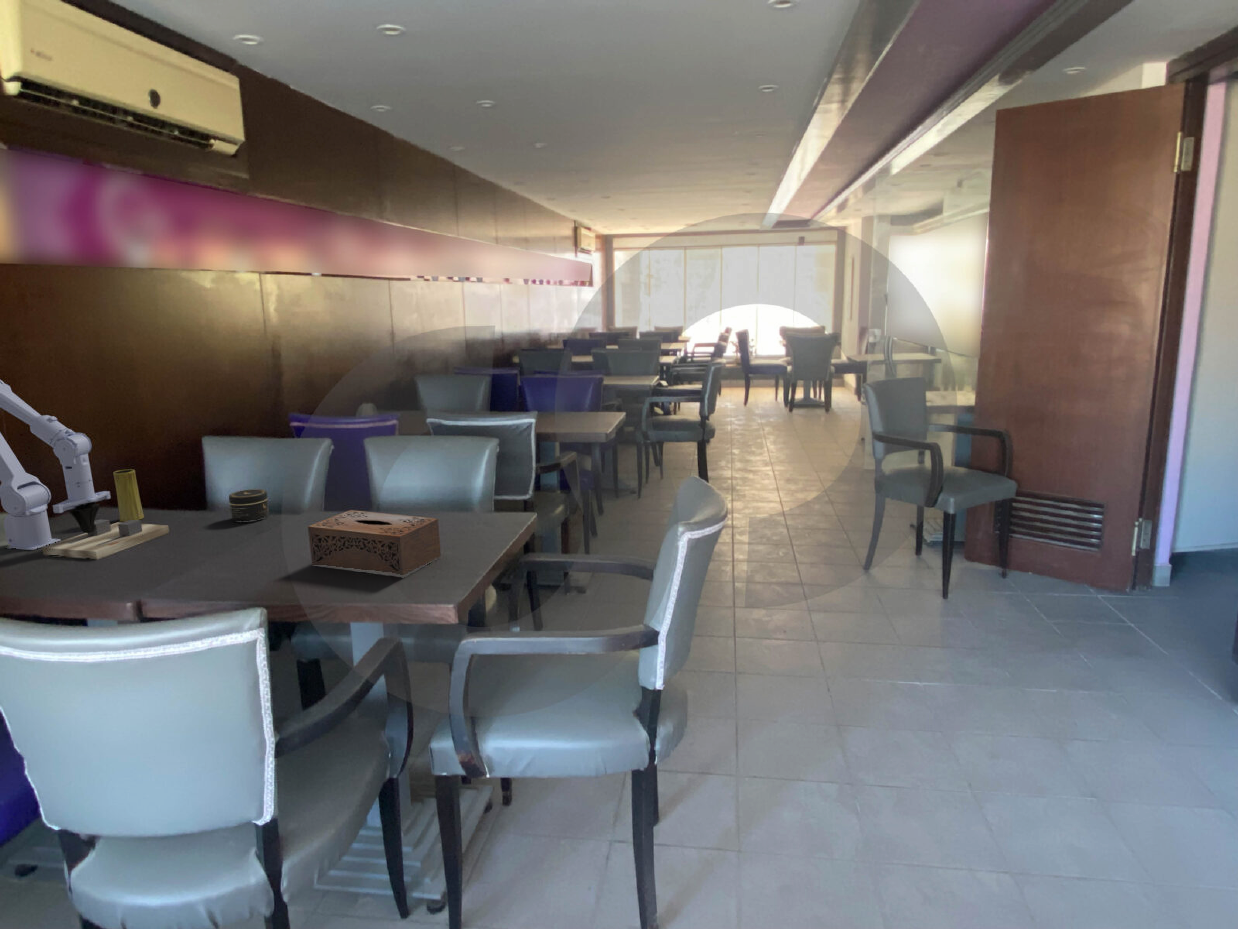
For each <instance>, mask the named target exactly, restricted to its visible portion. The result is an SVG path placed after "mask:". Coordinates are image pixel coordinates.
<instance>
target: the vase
mask: <svg viewBox="0 0 1238 929" xmlns="http://www.w3.org/2000/svg"><path fill="white" fill-rule="evenodd" d="M113 478H114V484H115V491H116V497H117V498H116V499H117V506H118V512H119V522H121V523H123V522H126V521H129V520H142V519H144V518H145V515H144V512H143V507H142V502H141V498H140V493H139V492H140V491H139V487H138V482H137V481H138V480H137V476H136V470H135V469H132V468H130V469H129V468H128V469H121V470H120V469H119V470H116V471H113Z"/></svg>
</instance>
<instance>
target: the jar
mask: <svg viewBox="0 0 1238 929" xmlns="http://www.w3.org/2000/svg"><path fill="white" fill-rule="evenodd" d="M228 503H229V508H230V515H231V518H232V520H233V521H234V520H235V521H242V522H243V521H250V520H258V519H261V518H264V517H267V518H268V516H269V513H270V510H269V498H268V492H267V491H266V490H265V489H262V488H260V489H259V488H258V489H257V488H255V489H254V488H250V489H244V490H239V491H235V492H232V493H230V494H229V495H228ZM235 521H234V522H235Z"/></svg>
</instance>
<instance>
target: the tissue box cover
mask: <svg viewBox="0 0 1238 929" xmlns="http://www.w3.org/2000/svg"><path fill="white" fill-rule="evenodd" d="M439 525H440V524H439V518H436V517H435V518H433V517H425V516H424V517H423V516H415V515H405V514H394V513H384V512H383V513H382V512H374V511H373V512H372V511H363V510H354V509H349V510H346V511H344V512H341V513H339V514H337V515H334V516H331V517H328V518H326V519H324V520H320V521H318V522H316V523H313V524H310V525H308V526H307V531H308V540H309V549H310V557H311V566H312V565H327V566H336V567H343V568H354V569H361V570H375V571H382V572H392V573H396V574H400V575H405V574H407V573H408V572H411V571H413V570H414V569H416V568H419V567H420V566H422V565H425V564H426V563H428V562H430V561H433V560H434V559H435V558H438V557H440V556H441V557H442V551H441V542H440V541H441V540H440V527H439Z"/></svg>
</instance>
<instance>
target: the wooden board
mask: <svg viewBox="0 0 1238 929" xmlns="http://www.w3.org/2000/svg"><path fill="white" fill-rule="evenodd" d="M120 523H122V522H121V521H119V522H115V523H112V524H111V523H110V528H111V531H109V532H106V533H103V534H100V535H88V533H82V534H79V535H76V536H72V537H69V538H66V539H63V540H61V541H59V542H56V543H53V544H50V545H47V546H44V547H41V551H42V554H43V556H49V555H60V556H59V557H61V556H66V557H65V558H76V559H86V558H90V559H89V560H99V559H102V558H105V557H108V556H111V555H113V554H116V553H119V552H122V551H123V550H127V549H129V548H132V547H134V546H137V545H139V544H142V543H145V542H148V541H150V540H154V539H156V538H158V537H161V536H164V535H168V534H169V533H170V528H169V525H167V524H166V525H165V524H152V523H151V524H150V523H149V524H148V523H141V525H142V532H139V533H136V534H134V535H131V536H124V535H120V534H119V528H118V524H120Z"/></svg>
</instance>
